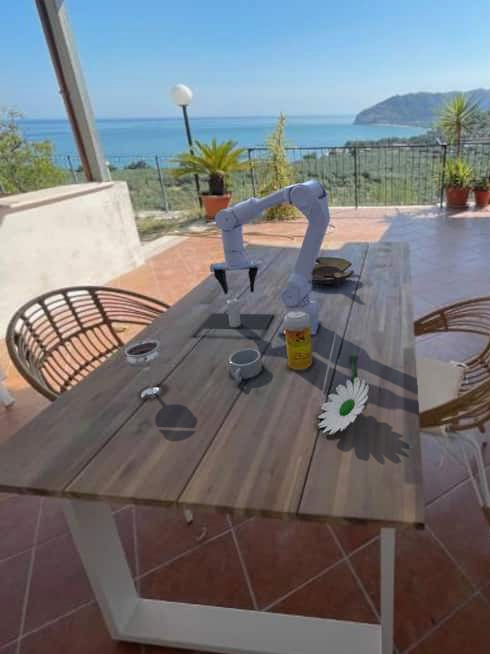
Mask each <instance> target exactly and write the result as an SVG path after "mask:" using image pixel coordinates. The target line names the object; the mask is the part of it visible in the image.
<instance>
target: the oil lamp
mask: <svg viewBox="0 0 490 654" xmlns="http://www.w3.org/2000/svg"><path fill="white" fill-rule="evenodd" d="M352 265H353V264H352V262H350V261H349V260H347V259H344V258H341V257H330V256H317V259H316V262H315V265H314V268H313V271H312V274H311V275H312V276H313V277H312V283H317V284H332V285H334V286H340V285H341V284H342V283H343V281H344V280H346V279H348V278H350V277H352V275H353V274H354V273H355V271H354V270H349V271H347V270H348V269H349V268H350V267H351V266H352ZM345 271H346V272H345ZM326 277H330V278H326ZM331 277H332V278H331Z"/></svg>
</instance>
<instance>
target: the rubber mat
mask: <svg viewBox="0 0 490 654" xmlns="http://www.w3.org/2000/svg"><path fill="white" fill-rule="evenodd" d="M239 314H240V321H241V325H240V326H238V327H231V326H230V323H229V315H228V313H212V314H211V315H210V316H209V317H208V318H207V320H206V321H205V322H204V323H203V324H202V325H201V326H200V327H199V329H198V330H197V331H196V332H195V333H194V334H193V336H192V337H194V338H195V337H197V336H198V334H199V333H200V332H201V331H202V330H246V331H247V330H250V331H251V330H253V331H266V330H267V328H268V327H269V324H270V323H271V321H272V319H273V317H274V314H260V313H259V314H258V313H257V314H255V313H254V314H253V313H252V314H250V313H249V314H247V313H239Z"/></svg>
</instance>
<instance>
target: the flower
mask: <svg viewBox="0 0 490 654" xmlns="http://www.w3.org/2000/svg"><path fill="white" fill-rule="evenodd" d="M351 377H352V381H351V380H350V379H347V380H346V381H345V382H346V383H345V385H346V386H345V385H343V384H338V386H336V387H335V391H336V393H337V394H336V393H330V394H328V395H327V396H328V399H329V400H331V401H327V402H323V403H322V406H321V407H320V409H321V410H323V411H325V412H323V413H321V414H319V415H318V417H317V419H323V420H322V421H321V422H319V423H318V424H317V426H318V429H322V428H325V429H324V430H323V431H322V432H321V433H322V434H324V433H326V432H328V431H330V432H329V434H328V436H329V435H334V434H335V433H336V432H338V431H340V432H342V431H345V430H346V429H347V427H348V426H349V425H350V424H351V423H354V422H355V421H356V418H357V417H358V416H357V415H360V414H361V413H362V412H363V410H364V409H365V403H367V401H368V399H369V395H368V392H369V389H370V388H369V384H366V380H365V379H362V380H360V377H356V376H355V355H352V356H351Z"/></svg>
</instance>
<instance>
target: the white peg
mask: <svg viewBox="0 0 490 654" xmlns="http://www.w3.org/2000/svg"><path fill="white" fill-rule="evenodd" d="M226 305H227V306H226V307H227V308H226V309H227V314H228V315H229V323H230V326H231V327H238V326H240V325H241V321H240V314H241V313H240V307H239V306H240V305H239V299H237V298H230V299H227V300H226Z"/></svg>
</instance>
